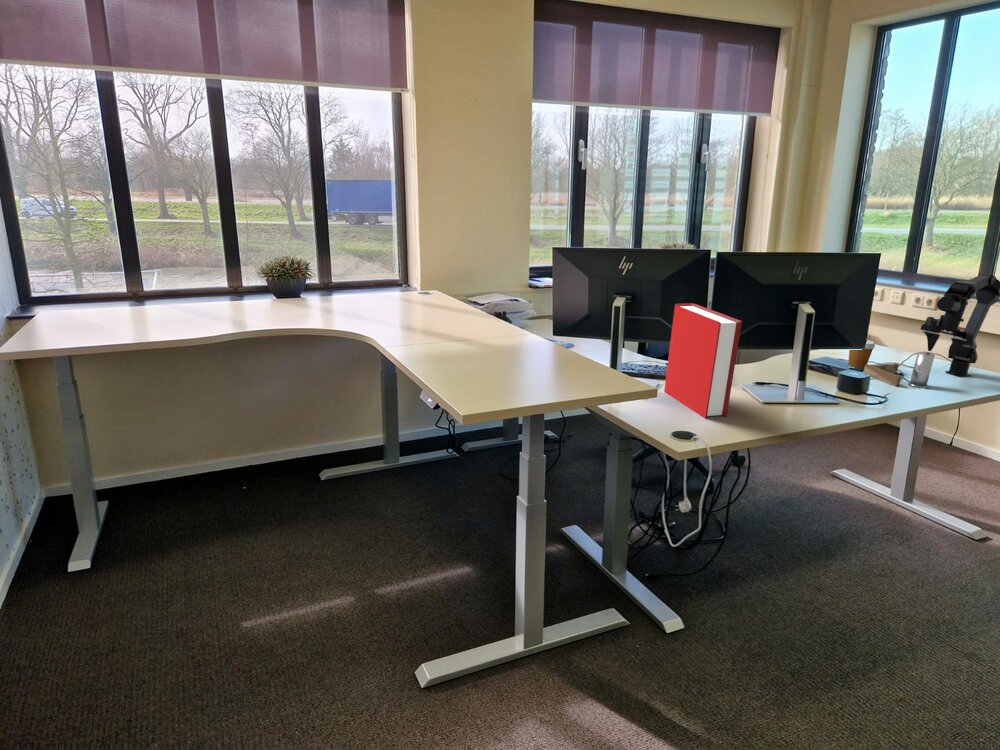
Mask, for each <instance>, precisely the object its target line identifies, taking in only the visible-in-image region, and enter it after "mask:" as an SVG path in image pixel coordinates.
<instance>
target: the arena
mask: <svg viewBox="0 0 1000 750" xmlns="http://www.w3.org/2000/svg"><path fill="white" fill-rule="evenodd" d="M899 366H900V364H899V363H880V364H877V363H876V364H869V363H867V365H865V368H864V371H863V372H864V373H866V374H869V375H871V376H872V377H871V378H873V379H876V380H877V381H881V382H883V383H885V384H888V385H890V386H893V387H895V388H897V387H900V384H901V380H902V376H900V375H898V369H899ZM893 373H897V374H893Z"/></svg>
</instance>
